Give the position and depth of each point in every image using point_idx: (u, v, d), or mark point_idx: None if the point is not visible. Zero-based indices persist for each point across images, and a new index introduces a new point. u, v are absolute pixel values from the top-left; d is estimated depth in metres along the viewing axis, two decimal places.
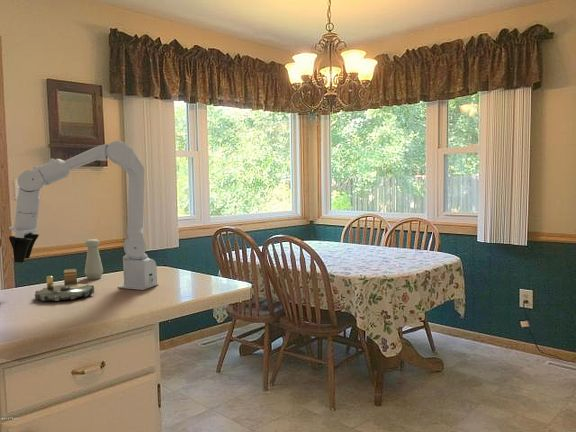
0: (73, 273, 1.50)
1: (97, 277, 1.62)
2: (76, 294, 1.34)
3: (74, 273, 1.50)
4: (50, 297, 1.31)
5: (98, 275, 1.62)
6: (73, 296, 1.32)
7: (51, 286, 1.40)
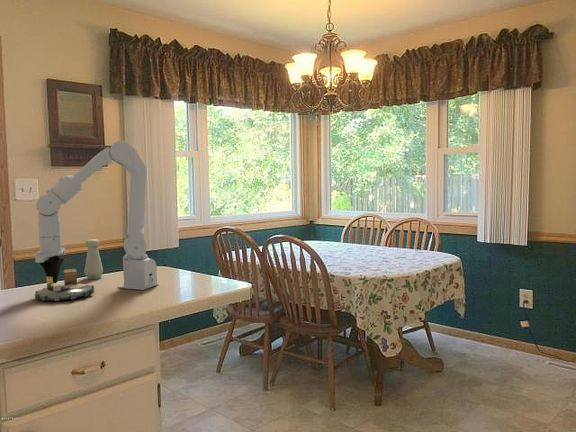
0: (73, 273, 1.50)
1: (97, 277, 1.62)
2: (76, 294, 1.34)
3: (74, 273, 1.50)
4: (50, 297, 1.31)
5: (98, 275, 1.62)
6: (73, 296, 1.32)
7: (51, 286, 1.40)
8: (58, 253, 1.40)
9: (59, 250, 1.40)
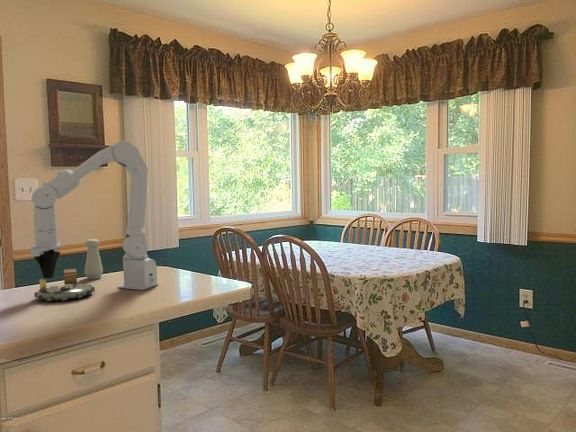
0: (73, 273, 1.50)
1: (97, 277, 1.62)
2: (90, 290, 1.38)
3: (74, 273, 1.50)
4: (71, 295, 1.33)
5: (98, 275, 1.62)
6: (91, 291, 1.37)
7: (46, 289, 1.36)
8: (54, 247, 1.37)
9: (55, 244, 1.38)
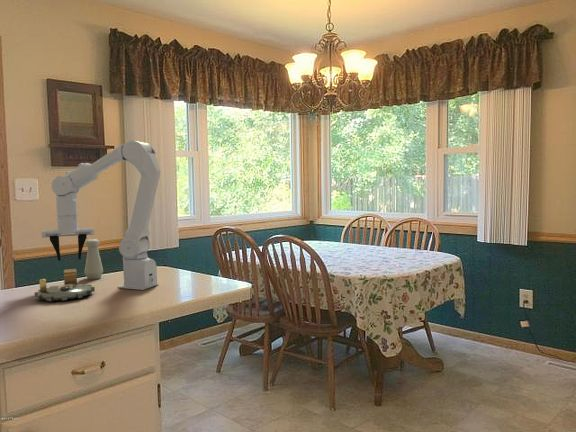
0: (73, 273, 1.50)
1: (97, 277, 1.62)
2: (90, 290, 1.38)
3: (74, 273, 1.50)
4: (71, 295, 1.33)
5: (98, 275, 1.62)
6: (91, 291, 1.37)
7: (46, 289, 1.36)
8: (63, 232, 1.47)
9: (65, 229, 1.48)
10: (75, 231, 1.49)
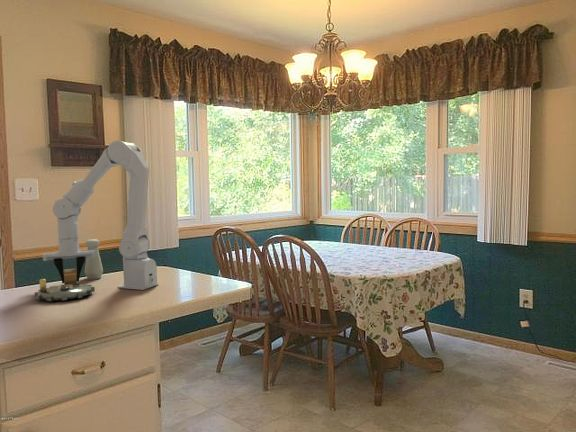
0: (73, 273, 1.50)
1: (97, 277, 1.62)
2: (90, 290, 1.38)
3: (74, 273, 1.50)
4: (71, 295, 1.33)
5: (98, 275, 1.62)
6: (91, 291, 1.37)
7: (46, 289, 1.36)
8: (64, 255, 1.48)
9: (66, 252, 1.48)
10: (76, 254, 1.50)
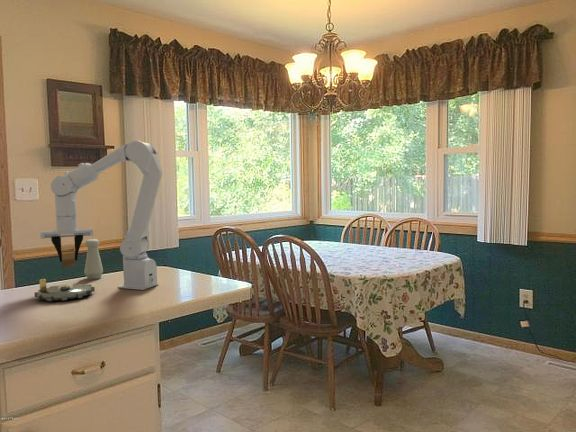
0: (71, 251, 1.47)
1: (97, 277, 1.62)
2: (90, 290, 1.38)
3: (72, 251, 1.47)
4: (71, 295, 1.33)
5: (98, 275, 1.62)
6: (91, 291, 1.37)
7: (46, 289, 1.36)
8: (61, 233, 1.46)
9: (64, 230, 1.46)
10: (74, 232, 1.47)
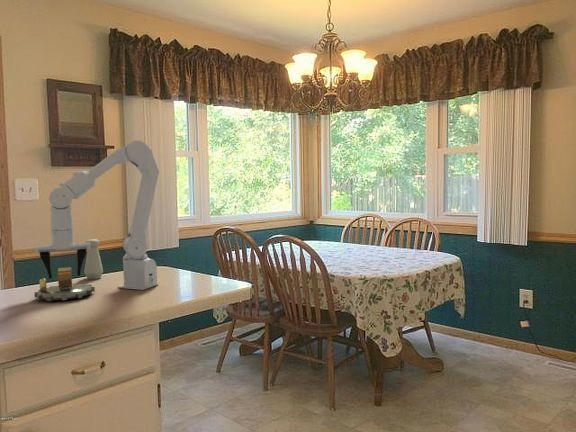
0: (68, 272, 1.40)
1: (97, 277, 1.62)
2: (90, 290, 1.38)
3: (69, 272, 1.40)
4: (71, 295, 1.33)
5: (98, 275, 1.62)
6: (91, 291, 1.37)
7: (46, 289, 1.36)
8: (57, 247, 1.38)
9: (60, 245, 1.39)
10: (71, 246, 1.40)
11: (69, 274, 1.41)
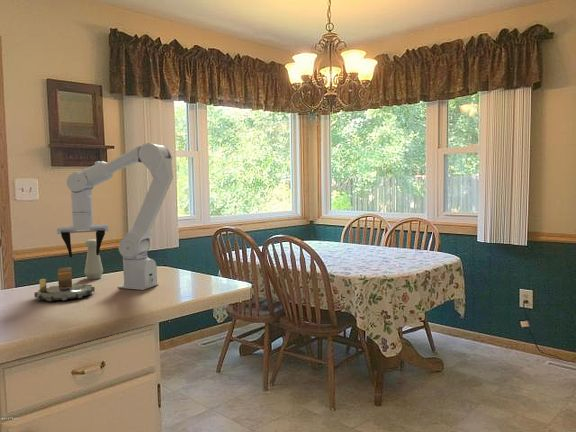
0: (68, 272, 1.40)
1: (97, 277, 1.62)
2: (90, 290, 1.38)
3: (69, 272, 1.40)
4: (71, 295, 1.33)
5: (98, 275, 1.62)
6: (91, 291, 1.37)
7: (46, 289, 1.36)
8: (78, 228, 1.48)
9: (80, 225, 1.48)
10: (90, 227, 1.49)
11: (69, 274, 1.41)
